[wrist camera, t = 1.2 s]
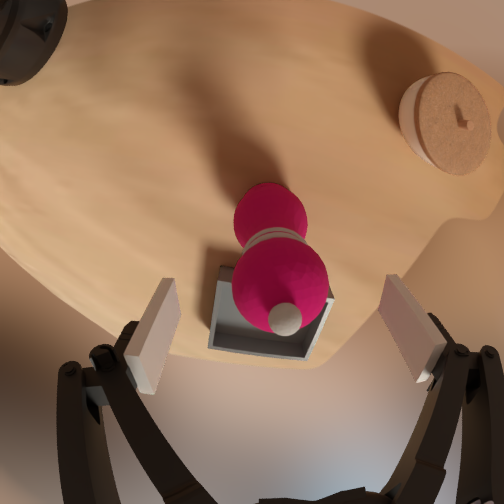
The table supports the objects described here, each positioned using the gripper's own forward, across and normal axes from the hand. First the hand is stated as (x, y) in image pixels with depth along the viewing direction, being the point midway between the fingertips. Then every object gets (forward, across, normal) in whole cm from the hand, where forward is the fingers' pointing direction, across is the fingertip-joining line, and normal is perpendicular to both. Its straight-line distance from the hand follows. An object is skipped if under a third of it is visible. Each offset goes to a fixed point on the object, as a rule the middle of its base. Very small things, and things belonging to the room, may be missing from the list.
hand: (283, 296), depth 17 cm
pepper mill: (+17, 0, 0) cm, 17 cm away
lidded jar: (+17, +18, +12) cm, 28 cm away
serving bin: (+17, 0, -13) cm, 21 cm away
